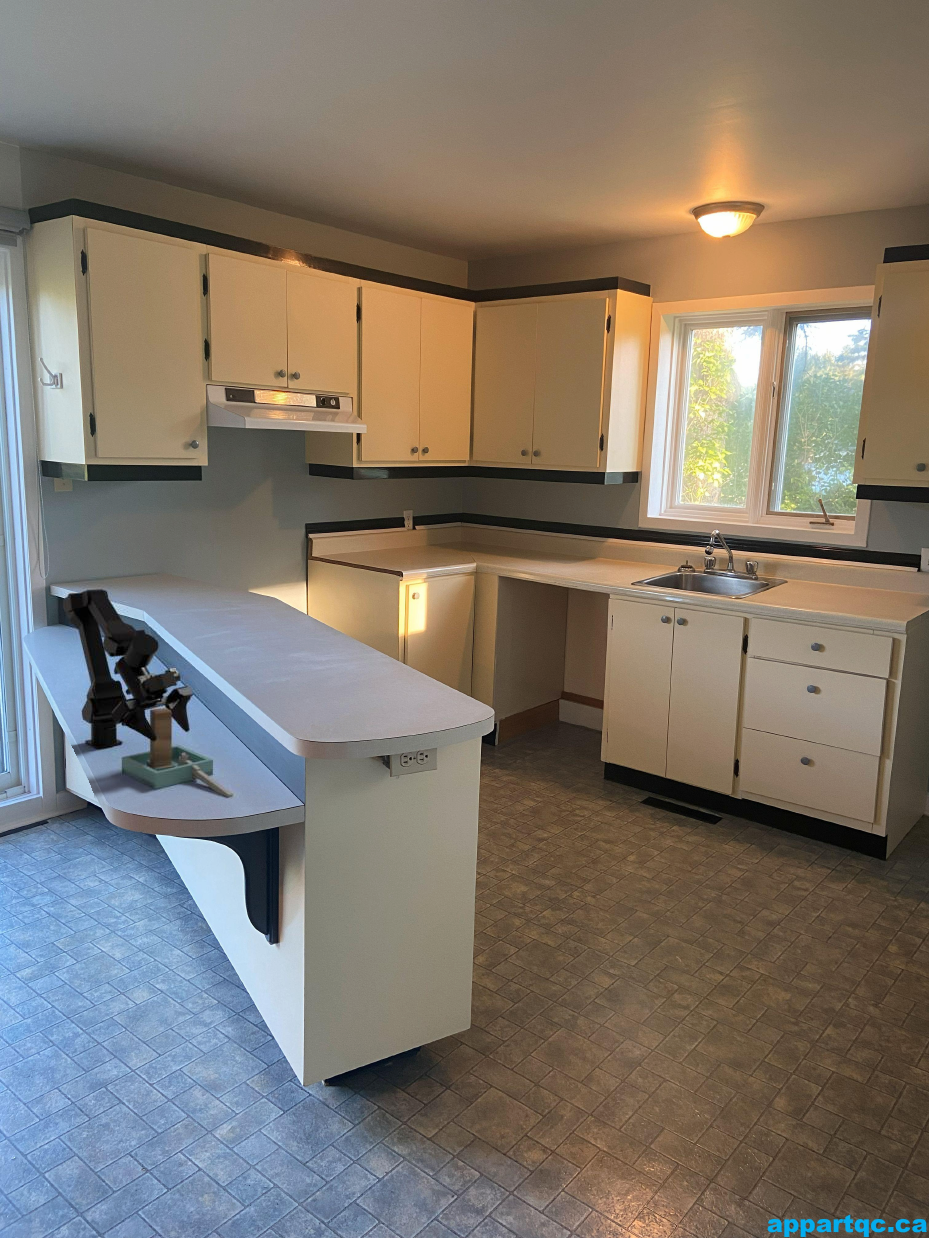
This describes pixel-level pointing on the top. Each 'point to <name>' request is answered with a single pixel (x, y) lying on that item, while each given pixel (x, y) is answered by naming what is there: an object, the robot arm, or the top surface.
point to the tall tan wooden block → (161, 740)
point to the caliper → (204, 777)
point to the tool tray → (167, 777)
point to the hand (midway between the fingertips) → (172, 735)
